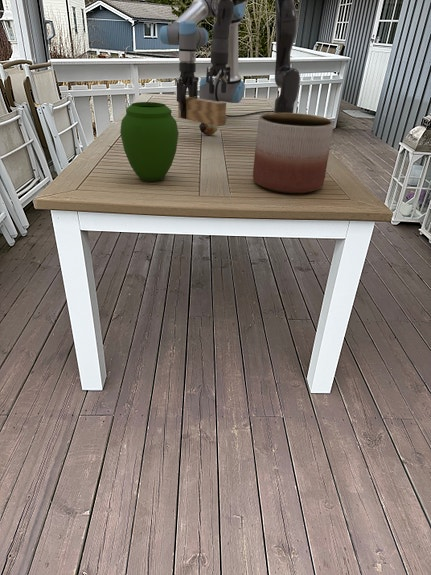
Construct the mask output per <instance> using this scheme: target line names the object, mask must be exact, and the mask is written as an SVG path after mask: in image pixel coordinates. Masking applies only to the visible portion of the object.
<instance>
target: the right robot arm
mask: <svg viewBox="0 0 431 575" xmlns="http://www.w3.org/2000/svg"><path fill="white" fill-rule="evenodd" d="M247 1H248V0H212V9H213V11H214V12H215V13H216V14H217V17H215V18H216V19H215V22H214V23H213V25H212V37H211V47H210V49H211V50H210V64H212V66H207V67H206V76H205V77H206V82H207V83H209V93H210V94H214V87H215V85H214V84H215V82H216V80H217V79H218V78H220V79H221V82H222V84H221V93H226V85H227V83H228V82H230V70H231V68H230V67H226V65H227V64H228V57H229V33H230V24H231V20H232V16H233V11H234V6H236V5H238V4H242V3H244V2H245V3H246V2H247ZM274 4H275V5H274V6H275V67H274V82H275V86H277V87H278V88H279V89H280V94H279V96H277V97H276V98H275V100H274V108H273V111H274V112H273V113H294V108H295V103H296V100H297V98H298V94H299V88H300V82H301V74H300V72H299V70H298V69H297V68H294V67H291V53H292V50H293V46H294V44H295V40H296V39H297V38H296V37H297V33H298V15H297V14H298V13H297V8H296V5H295V2H294V0H275V1H274ZM227 76H228V79H227ZM209 77H210V80H209ZM212 80H213V81H212Z"/></svg>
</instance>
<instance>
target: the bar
mask: <svg viewBox="0 0 431 575" xmlns="http://www.w3.org/2000/svg"><path fill="white" fill-rule="evenodd" d="M185 103H186V118H181V110H180V103H179V102H177V104H178V106H177V108H178V116H177V118H178V119H182V120H186V121H192V122H196V123H200V124H201V123H206V124H211V125H216V126H217V127H221V126H225V125H226V115H227V102H220V101H219V102H218V101H212V100H206V99H200V98H199V97H197V98H194V97H189V96H188V95H186V98H185Z"/></svg>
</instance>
